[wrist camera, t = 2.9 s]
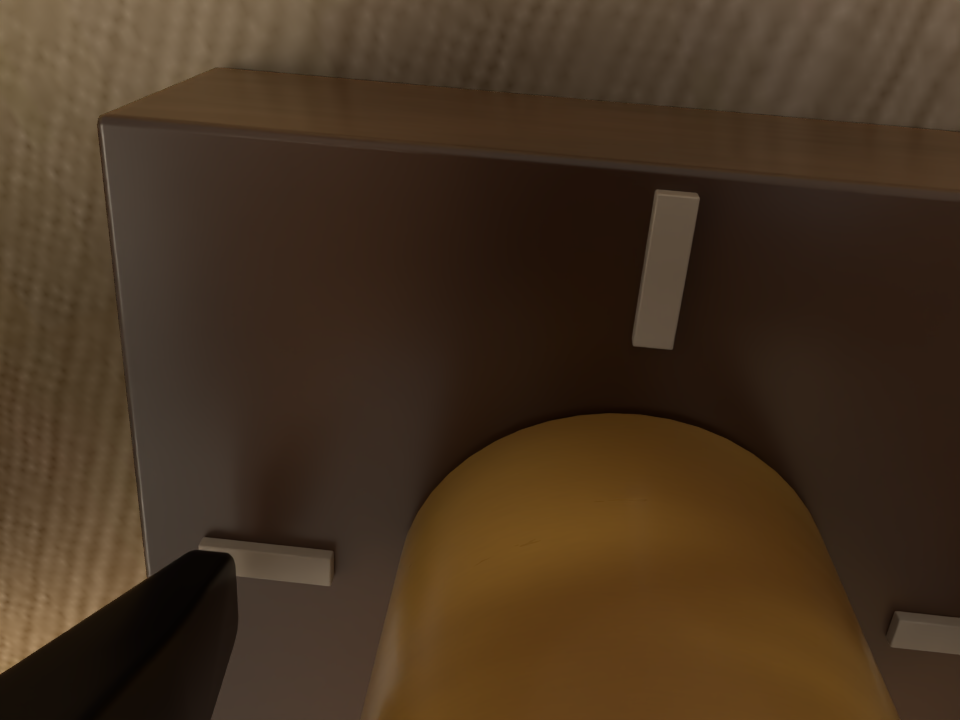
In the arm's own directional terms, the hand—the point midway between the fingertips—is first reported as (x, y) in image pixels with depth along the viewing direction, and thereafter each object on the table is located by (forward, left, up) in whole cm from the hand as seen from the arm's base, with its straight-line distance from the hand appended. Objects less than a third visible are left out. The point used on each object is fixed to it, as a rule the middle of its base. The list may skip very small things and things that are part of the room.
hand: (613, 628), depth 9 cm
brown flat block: (0, 0, -4) cm, 4 cm away
